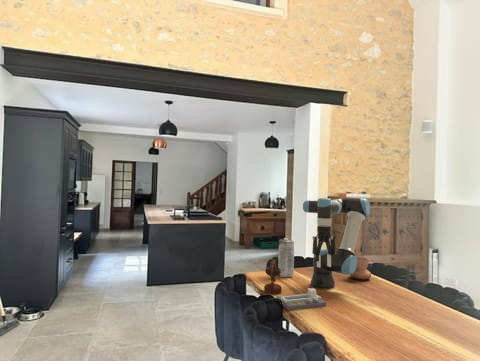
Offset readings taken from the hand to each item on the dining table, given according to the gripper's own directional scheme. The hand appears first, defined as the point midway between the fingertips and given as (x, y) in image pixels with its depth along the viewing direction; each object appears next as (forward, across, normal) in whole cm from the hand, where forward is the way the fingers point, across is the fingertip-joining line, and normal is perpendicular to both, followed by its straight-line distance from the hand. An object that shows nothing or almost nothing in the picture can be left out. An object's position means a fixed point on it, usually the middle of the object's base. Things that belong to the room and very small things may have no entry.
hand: (323, 266), depth 177 cm
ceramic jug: (+19, -50, -32) cm, 62 cm away
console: (+19, +14, 0) cm, 24 cm away
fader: (+17, +8, 0) cm, 18 cm away
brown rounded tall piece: (+19, +22, -22) cm, 36 cm away
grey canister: (+19, -2, -51) cm, 54 cm away
